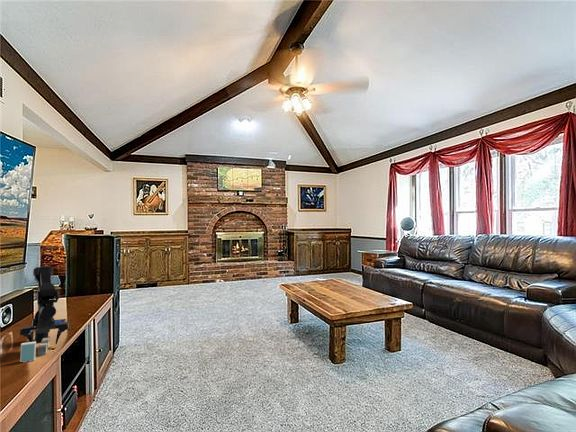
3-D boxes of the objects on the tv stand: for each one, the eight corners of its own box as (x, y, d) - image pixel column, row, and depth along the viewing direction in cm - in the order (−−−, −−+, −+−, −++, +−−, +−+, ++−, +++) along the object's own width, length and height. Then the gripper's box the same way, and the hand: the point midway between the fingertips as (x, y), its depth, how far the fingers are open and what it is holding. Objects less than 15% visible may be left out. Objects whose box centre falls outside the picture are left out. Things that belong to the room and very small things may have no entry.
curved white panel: (42, 346, 161) (42, 338, 161) (49, 345, 162) (49, 337, 162) (38, 356, 149) (38, 347, 149) (45, 355, 150) (45, 346, 150)
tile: (21, 361, 143) (21, 343, 143) (35, 359, 146) (36, 341, 146) (20, 363, 141) (20, 344, 141) (34, 360, 144) (35, 342, 144)
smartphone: (46, 327, 188) (53, 319, 202) (46, 328, 188) (53, 321, 202) (61, 325, 191) (67, 318, 205) (61, 327, 191) (67, 320, 205)
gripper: (18, 320, 146) (16, 355, 145) (67, 315, 155) (66, 348, 155) (23, 314, 155) (21, 346, 155) (69, 310, 165) (68, 340, 165)
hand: (44, 345), depth 157 cm, fingers open, 9 cm apart
